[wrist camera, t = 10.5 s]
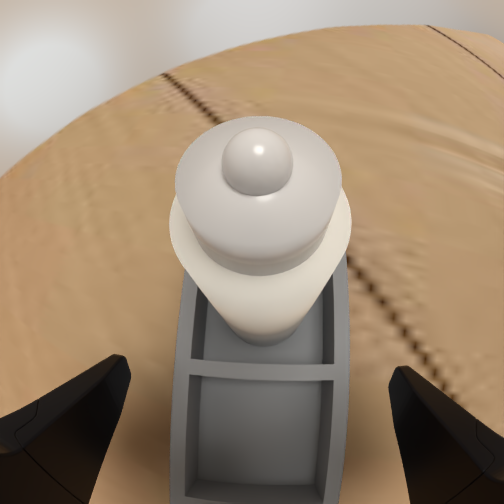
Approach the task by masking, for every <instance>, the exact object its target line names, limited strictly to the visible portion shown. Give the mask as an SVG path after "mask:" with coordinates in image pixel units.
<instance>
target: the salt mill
mask: <svg viewBox="0 0 504 504" xmlns="http://www.w3.org/2000/svg"><path fill="white" fill-rule="evenodd" d="M341 185H342V176H341V169H340V166H339V163H338V160H337V158H336V156H335V154H334V152H333V151H332V149H331V148H330V146H329V145H328V144H327V143H326V142H325V141H324V140H323V139H322V138H321V137H320V136H319V135H317V134H316V133H314V132H313V131H312V130H310V129H308V128H306V127H305V126H303V125H300V124H298V123H296V122H293V121H290V120H286V119H282V118H277V117H269V116H251V117H243V118H238V119H234V120H230V121H227V122H224V123H222V124H219V125H217V126H215V127H213V128H211V129H209V130H208V131H206V132H205V133H203V134H202V135H201V136H199V137H198V138H197V139H196V140H195V141H194V142H193V143H192V144H191V145H190V146H189V147H188V149H187V150H186V151H185V153H184V154H183V156H182V158H181V160H180V162H179V164H178V167H177V171H176V176H175V191H176V196H175V199H174V201H173V204H172V208H171V212H170V222H169V227H170V236H171V241H172V245H173V248H174V250H175V253H176V255H177V257H178V259H179V260H180V262H181V264H182V265H183V267H184V268H185V269H186V271H187V272H188V273H189V275H190V276H191V277H192V279H193V280H194V281H195V283H196V284H197V285H198V287H199V288H200V289H201V291H202V292H203V293H204V295H205V296H206V297H207V299H208V300H209V301H210V303H211V304H212V305H213V306H214V308H215V309H216V310H217V312H218V313H219V314H220V315H221V317H222V318H223V319H224V320H225V322H226V323H227V324H228V325H229V327H230V328H231V329H232V330H233V332H234V333H235V334H236V335H237V336H238V337H239V338H240V339H242V340H243V341H245V342H247V343H249V344H252V345H255V346H263V347H266V346H273V345H276V344H279V343H281V342H283V341H285V340H286V339H288V338H289V337H290V336H291V335H292V334H293V333H294V332H295V331H296V329H297V328H298V326H299V325H300V323H301V322H302V320H303V319H304V317H305V316H306V314H307V313H308V311H309V310H310V308H311V307H312V305H313V304H314V302H315V301H316V299H317V297H318V296H319V294H320V293H321V291H322V290H323V288H324V286H325V285H326V283H327V282H328V280H329V278H330V277H331V275H332V273H333V272H334V270H335V269H336V267H337V265H338V264H339V262H340V260H341V258H342V257H343V255H344V253H345V251H346V248H347V245H348V242H349V238H350V233H351V212H350V207H349V203H348V200H347V197H346V195H345V193H344V190H343V189H342V187H341Z"/></svg>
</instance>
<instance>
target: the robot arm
mask: <svg viewBox="0 0 504 504" xmlns="http://www.w3.org/2000/svg"><path fill="white" fill-rule="evenodd" d="M130 380H131V372H130V369H129V366H128V363H127V360H126V358H125V356H123V355H118V354H113V355H111V356H109V357H108V358H106V359H104V360H103V361H101V362H99V363H98V364H96V365H94V366H93V367H91V368H89V369H88V370H86V371H84V372H83V373H81V374H79V375H78V376H76V377H74V378H73V379H71V380H69V381H68V382H66V383H64V384H63V385H61V386H59V387H57V388H56V389H54V390H52V391H51V392H49V393H47V394H46V395H44V396H42V397H40V398H39V399H37V400H35V401H34V402H32V403H30V404H28V405H26V406H25V407H23V408H21V409H19V410H17V411H15V412H13V413H11V414H8V415H6V416H4V417H2V418H0V504H89V501H90V498H91V495H92V492H93V489H94V486H95V483H96V480H97V477H98V474H99V471H100V469H101V466H102V463H103V460H104V457H105V455H106V452H107V449H108V447H109V444H110V441H111V439H112V436H113V433H114V431H115V428H116V426H117V423H118V421H119V418H120V415H121V412H122V409H123V405H124V401H125V398H126V394H127V390H128V387H129V383H130ZM388 388H389V396H390V402H391V409H392V416H393V423H394V429H395V433H396V437H397V441H398V445H399V450H400V454H401V459H402V463H403V468H404V473H405V478H406V483H407V488H408V493H409V499H410V504H504V438H503V437H502V436H500V435H499V434H497V433H496V432H494V431H493V430H491V429H490V428H489V427H487V426H486V425H484V424H483V423H482V422H481V421H479V420H478V419H476V418H475V417H474V416H473V415H471V414H470V413H469V412H468V411H466V410H465V409H464V408H462V407H461V406H460V405H458V404H457V403H456V402H455V401H453V400H452V399H451V398H449V397H448V396H447V395H446V394H444V393H443V392H442V391H440V390H439V389H438V388H436V387H435V386H434V385H433V384H431V383H430V382H429V381H427V380H426V379H425V378H423V377H422V376H421V375H420V374H418V373H417V372H416V371H414V370H413V369H412V368H410V367H409V366H398V367H396V368H395V370H394V373H393V375H392V378H391V380H390V382H389V387H388Z"/></svg>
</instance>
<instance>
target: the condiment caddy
mask: <svg viewBox="0 0 504 504" xmlns="http://www.w3.org/2000/svg"><path fill="white" fill-rule="evenodd" d="M349 376H350V323H349V295H348V276H347V261H346V251H345V253H344V255H343V257H342V258H341V260H340V262H339V264H338V265H337V267H336V269H335V270H334V272H333V273H332V275H331V277H330V278H329V280H328V282H327V283H326V285H325V286H324V288H323V290H322V291H321V293H320V294H319V296H318V297H317V299H316V301H315V302H314V304H313V305H312V307H311V308H310V310H309V311H308V313H307V314H306V316H305V317H304V319H303V320H302V322H301V323H300V325H299V326H298V328H297V329H296V331H295V332H294V333H293V334H292V335H291V336H290V337H289V338H288V339H286V340H285V341H283V342H281V343H279V344H276V345H273V346H266V347H263V346H255V345H252V344H249V343H247V342H245V341H243V340H242V339H240V338H239V337H238V336H237V335H236V334H235V333H234V332H233V330H232V329H231V328H230V327H229V325H228V324H227V323H226V322H225V320H224V319H223V318H222V317H221V315H220V314H219V313H218V312H217V310H216V309H215V308H214V306H213V305H212V304H211V303H210V301H209V300H208V299H207V297H206V296H205V295H204V293H203V292H202V291H201V289H200V288H199V287H198V285H197V284H196V283H195V281H194V280H193V279H192V277H191V276H190V275H189V273H188V272H187V271H186V269H185V272H184V280H183V288H182V296H181V304H180V313H179V322H178V331H177V342H176V352H175V364H174V377H173V392H172V409H171V432H170V504H338V503H339V496H340V489H341V482H342V474H343V466H344V457H345V447H346V435H347V421H348V404H349Z"/></svg>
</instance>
